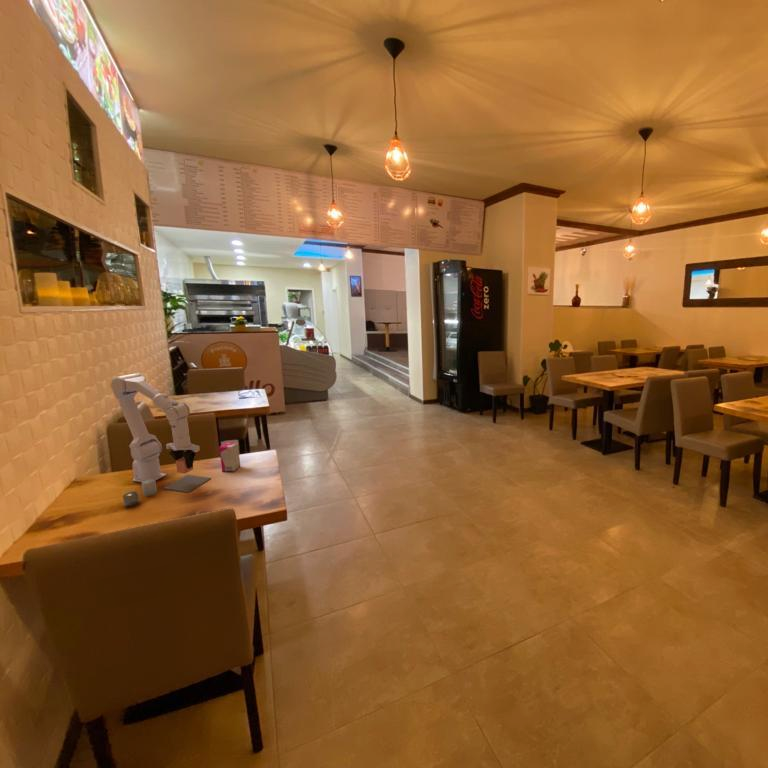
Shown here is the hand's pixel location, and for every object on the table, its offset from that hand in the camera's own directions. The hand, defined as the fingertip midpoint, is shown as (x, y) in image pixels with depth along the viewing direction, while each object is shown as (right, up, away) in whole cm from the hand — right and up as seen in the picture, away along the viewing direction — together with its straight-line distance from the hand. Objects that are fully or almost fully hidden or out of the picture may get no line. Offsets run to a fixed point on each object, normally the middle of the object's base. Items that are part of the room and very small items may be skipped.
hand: (185, 466), depth 145 cm
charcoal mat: (0, -7, +2) cm, 7 cm away
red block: (0, -2, 0) cm, 2 cm away
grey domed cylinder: (-10, -9, -6) cm, 15 cm away
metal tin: (-12, -11, -13) cm, 21 cm away
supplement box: (+12, -4, +14) cm, 19 cm away
